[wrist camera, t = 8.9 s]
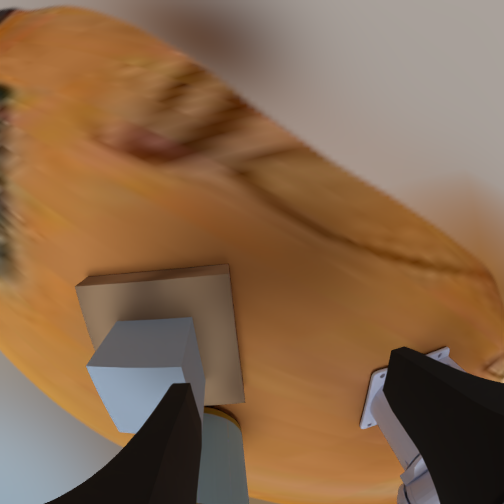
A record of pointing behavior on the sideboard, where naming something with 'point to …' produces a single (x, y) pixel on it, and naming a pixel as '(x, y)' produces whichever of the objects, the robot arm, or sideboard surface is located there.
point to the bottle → (221, 461)
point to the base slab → (174, 316)
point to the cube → (145, 368)
